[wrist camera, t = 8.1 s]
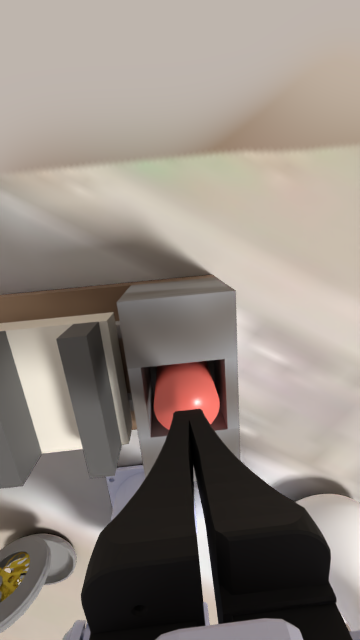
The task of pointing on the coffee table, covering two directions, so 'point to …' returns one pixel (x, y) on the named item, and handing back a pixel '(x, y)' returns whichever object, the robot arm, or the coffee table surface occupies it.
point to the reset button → (184, 391)
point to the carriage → (61, 394)
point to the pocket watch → (31, 572)
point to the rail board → (156, 341)
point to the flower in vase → (340, 548)
